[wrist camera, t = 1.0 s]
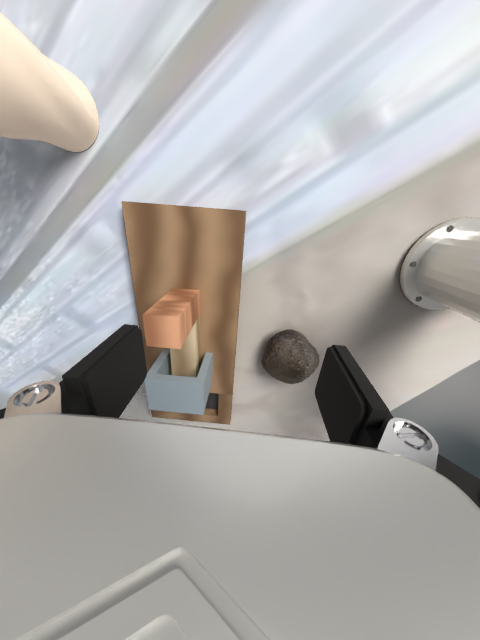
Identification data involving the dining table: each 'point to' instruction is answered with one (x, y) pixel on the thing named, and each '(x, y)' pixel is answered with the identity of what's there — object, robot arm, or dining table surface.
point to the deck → (191, 283)
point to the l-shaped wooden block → (176, 329)
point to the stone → (290, 357)
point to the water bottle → (42, 96)
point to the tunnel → (178, 386)
